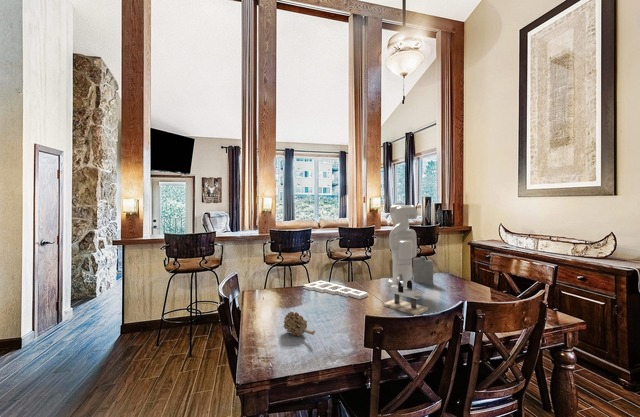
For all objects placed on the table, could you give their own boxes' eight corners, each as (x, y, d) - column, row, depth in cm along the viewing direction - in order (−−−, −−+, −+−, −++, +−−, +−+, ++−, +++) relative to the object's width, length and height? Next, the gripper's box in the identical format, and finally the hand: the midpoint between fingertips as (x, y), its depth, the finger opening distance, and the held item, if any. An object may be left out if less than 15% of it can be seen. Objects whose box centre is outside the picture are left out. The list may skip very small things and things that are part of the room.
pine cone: (277, 332, 147) (277, 312, 147) (292, 326, 154) (292, 307, 154) (310, 347, 132) (309, 325, 132) (324, 340, 139) (324, 318, 139)
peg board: (383, 305, 183) (383, 293, 183) (394, 301, 192) (394, 289, 191) (417, 315, 167) (417, 301, 167) (427, 309, 176) (427, 296, 176)
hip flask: (433, 284, 229) (433, 257, 228) (431, 285, 226) (431, 258, 226) (414, 280, 241) (414, 255, 240) (412, 281, 238) (412, 255, 237)
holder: (368, 296, 203) (368, 292, 202) (350, 303, 190) (350, 298, 190) (320, 283, 235) (320, 280, 235) (303, 288, 222) (303, 285, 222)
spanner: (388, 292, 185) (388, 285, 185) (392, 290, 188) (392, 284, 188) (419, 299, 171) (419, 292, 170) (423, 298, 174) (423, 291, 174)
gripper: (407, 258, 187) (407, 286, 188) (391, 263, 176) (391, 292, 176) (418, 260, 182) (418, 288, 183) (402, 264, 170) (403, 295, 171)
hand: (405, 290), depth 179 cm, fingers open, 9 cm apart
